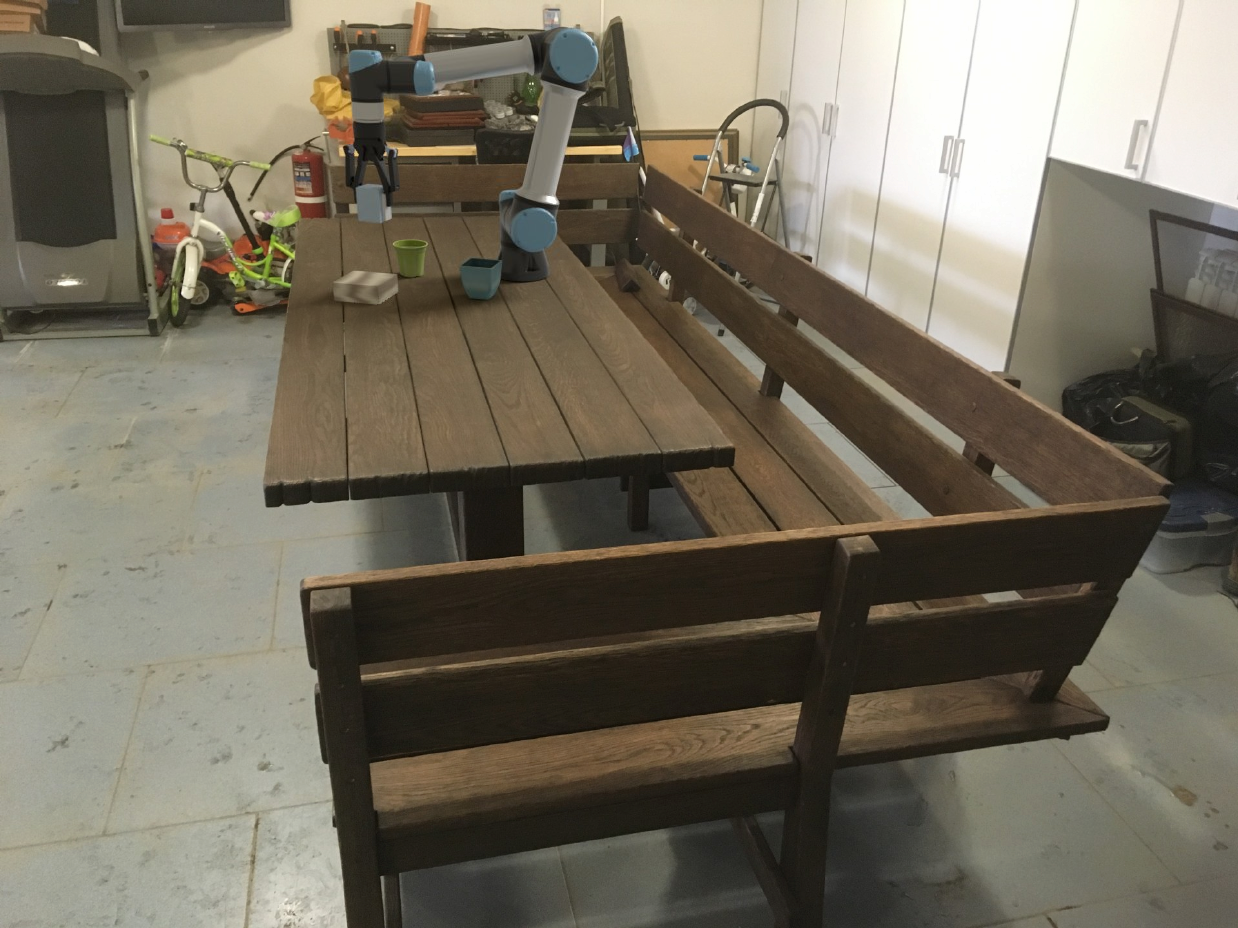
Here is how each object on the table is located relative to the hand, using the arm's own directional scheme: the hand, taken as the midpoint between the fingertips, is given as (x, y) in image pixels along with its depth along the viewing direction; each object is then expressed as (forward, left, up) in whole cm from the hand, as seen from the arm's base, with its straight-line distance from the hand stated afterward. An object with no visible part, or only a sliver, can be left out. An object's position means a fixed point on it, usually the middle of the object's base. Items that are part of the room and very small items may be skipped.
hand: (374, 218), depth 245 cm
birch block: (+3, +2, -20) cm, 20 cm away
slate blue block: (0, 0, 0) cm, 0 cm away
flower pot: (-25, -7, -20) cm, 33 cm away
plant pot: (+1, -20, -20) cm, 28 cm away
